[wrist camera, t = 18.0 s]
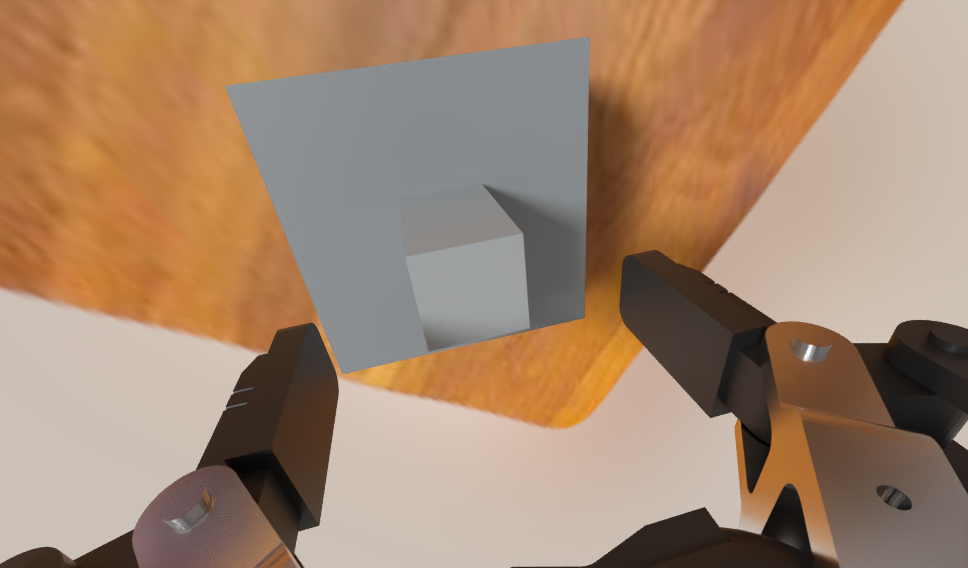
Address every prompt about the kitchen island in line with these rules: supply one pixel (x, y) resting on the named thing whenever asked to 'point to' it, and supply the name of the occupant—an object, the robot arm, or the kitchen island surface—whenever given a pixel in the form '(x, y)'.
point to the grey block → (431, 195)
